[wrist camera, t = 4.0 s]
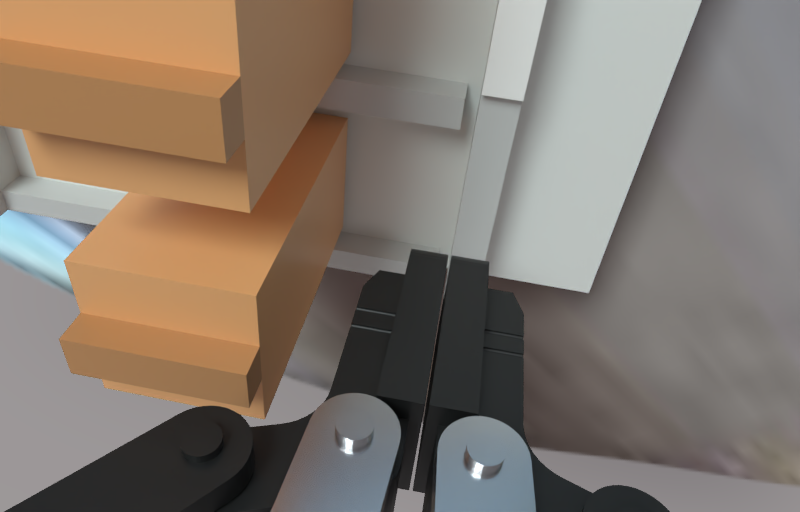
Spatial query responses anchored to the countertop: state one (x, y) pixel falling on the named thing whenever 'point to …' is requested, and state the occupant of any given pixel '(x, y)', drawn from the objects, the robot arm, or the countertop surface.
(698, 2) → the switch bank
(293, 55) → the tab
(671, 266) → the countertop surface
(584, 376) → the countertop surface
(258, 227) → the tab
